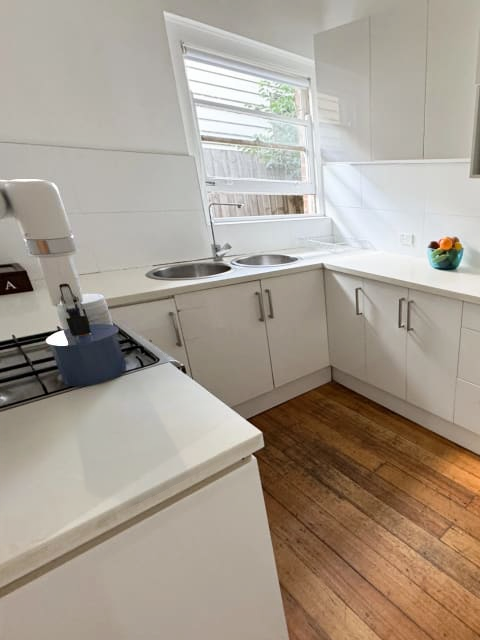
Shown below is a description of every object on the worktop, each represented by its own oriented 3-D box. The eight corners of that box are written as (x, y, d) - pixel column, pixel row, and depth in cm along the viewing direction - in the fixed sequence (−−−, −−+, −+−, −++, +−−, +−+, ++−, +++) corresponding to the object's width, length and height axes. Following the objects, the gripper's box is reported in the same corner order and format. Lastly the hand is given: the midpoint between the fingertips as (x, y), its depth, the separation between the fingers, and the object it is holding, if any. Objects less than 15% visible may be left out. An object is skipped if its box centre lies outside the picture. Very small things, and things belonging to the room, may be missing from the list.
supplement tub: (72, 352, 98) (52, 297, 92) (117, 342, 104) (101, 290, 98) (75, 365, 91) (54, 307, 85) (123, 354, 97) (106, 299, 91)
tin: (64, 392, 81) (48, 351, 77) (63, 371, 88) (49, 334, 85) (129, 376, 87) (117, 338, 84) (123, 358, 95) (112, 323, 91)
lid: (46, 355, 76) (34, 325, 74) (48, 336, 85) (37, 308, 82) (122, 340, 84) (113, 312, 81) (116, 324, 92) (108, 298, 90)
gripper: (28, 242, 80) (58, 323, 87) (23, 255, 68) (58, 347, 75) (75, 239, 84) (100, 316, 92) (77, 251, 73) (106, 338, 80)
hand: (81, 329), depth 83 cm, fingers open, 4 cm apart
